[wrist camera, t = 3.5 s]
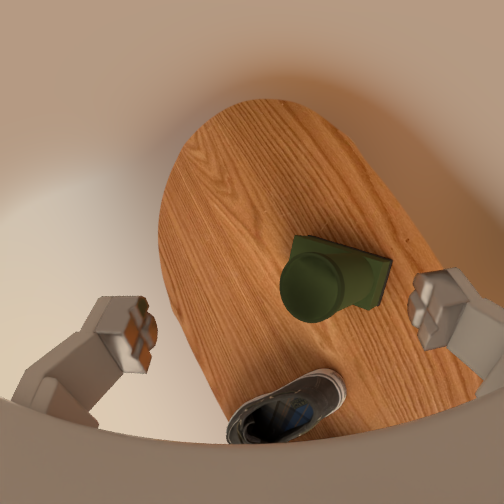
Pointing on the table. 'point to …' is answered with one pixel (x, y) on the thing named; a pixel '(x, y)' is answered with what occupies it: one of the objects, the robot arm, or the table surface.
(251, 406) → the boat shoe
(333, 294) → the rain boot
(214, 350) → the table surface
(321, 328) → the table surface
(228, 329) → the table surface
